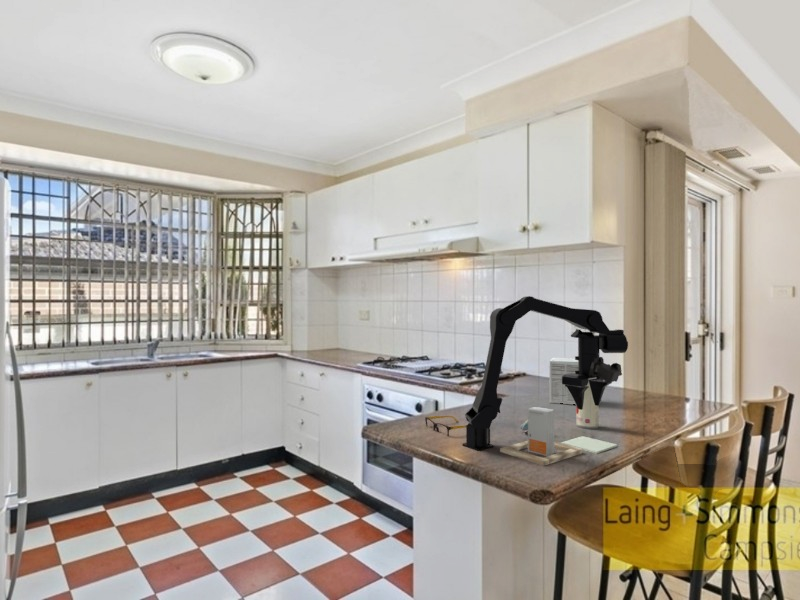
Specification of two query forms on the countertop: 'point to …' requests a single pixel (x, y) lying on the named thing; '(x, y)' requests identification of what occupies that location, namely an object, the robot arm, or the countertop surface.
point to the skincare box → (541, 430)
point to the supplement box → (556, 372)
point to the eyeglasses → (442, 424)
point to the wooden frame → (566, 453)
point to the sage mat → (590, 444)
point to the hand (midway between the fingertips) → (588, 407)
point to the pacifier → (524, 425)
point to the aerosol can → (588, 412)
